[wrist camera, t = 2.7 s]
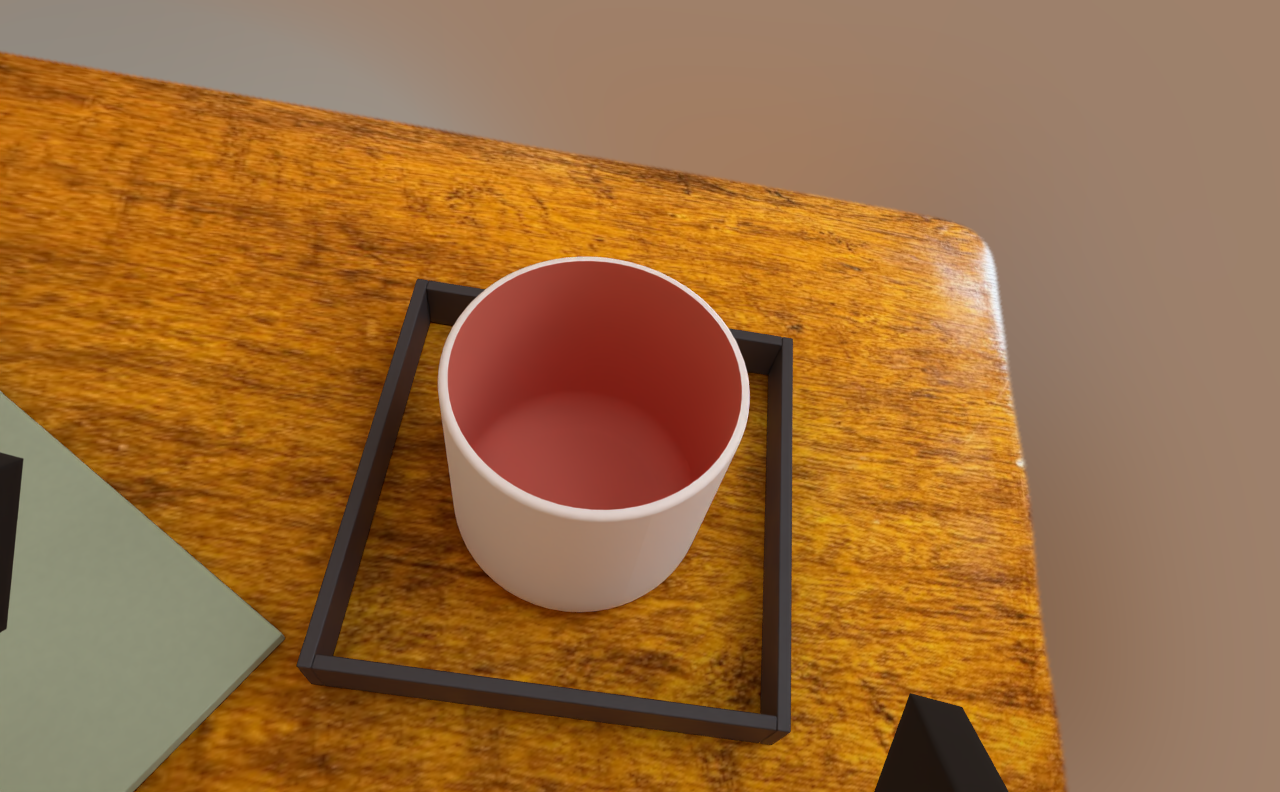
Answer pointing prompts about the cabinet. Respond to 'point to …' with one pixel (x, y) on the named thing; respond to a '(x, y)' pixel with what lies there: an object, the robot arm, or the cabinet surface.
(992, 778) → the robot arm
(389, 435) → the square frame
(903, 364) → the cabinet surface
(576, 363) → the cup
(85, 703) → the mat
